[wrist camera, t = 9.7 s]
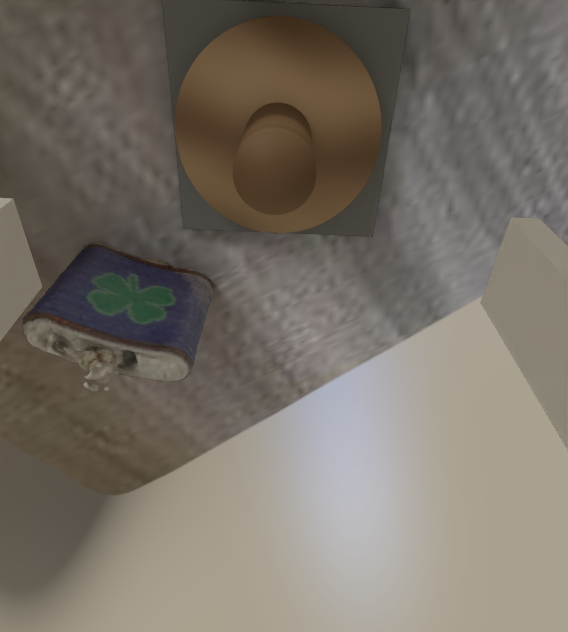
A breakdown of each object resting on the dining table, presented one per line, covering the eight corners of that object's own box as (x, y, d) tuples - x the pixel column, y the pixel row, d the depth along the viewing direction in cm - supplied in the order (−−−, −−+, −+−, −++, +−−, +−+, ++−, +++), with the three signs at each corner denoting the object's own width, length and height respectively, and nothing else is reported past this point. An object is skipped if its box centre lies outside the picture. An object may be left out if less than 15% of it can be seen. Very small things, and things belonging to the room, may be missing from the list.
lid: (169, 10, 22) (125, 17, 16) (394, 20, 22) (430, 31, 17) (188, 221, 29) (161, 280, 23) (363, 228, 29) (381, 289, 23)
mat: (166, -3, 23) (161, -3, 22) (405, 8, 23) (410, 9, 22) (186, 222, 30) (183, 228, 29) (370, 229, 30) (373, 236, 29)
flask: (217, 275, 32) (189, 382, 23) (207, 308, 34) (177, 419, 25) (83, 235, 31) (-2, 333, 22) (79, 271, 32) (-1, 376, 23)
